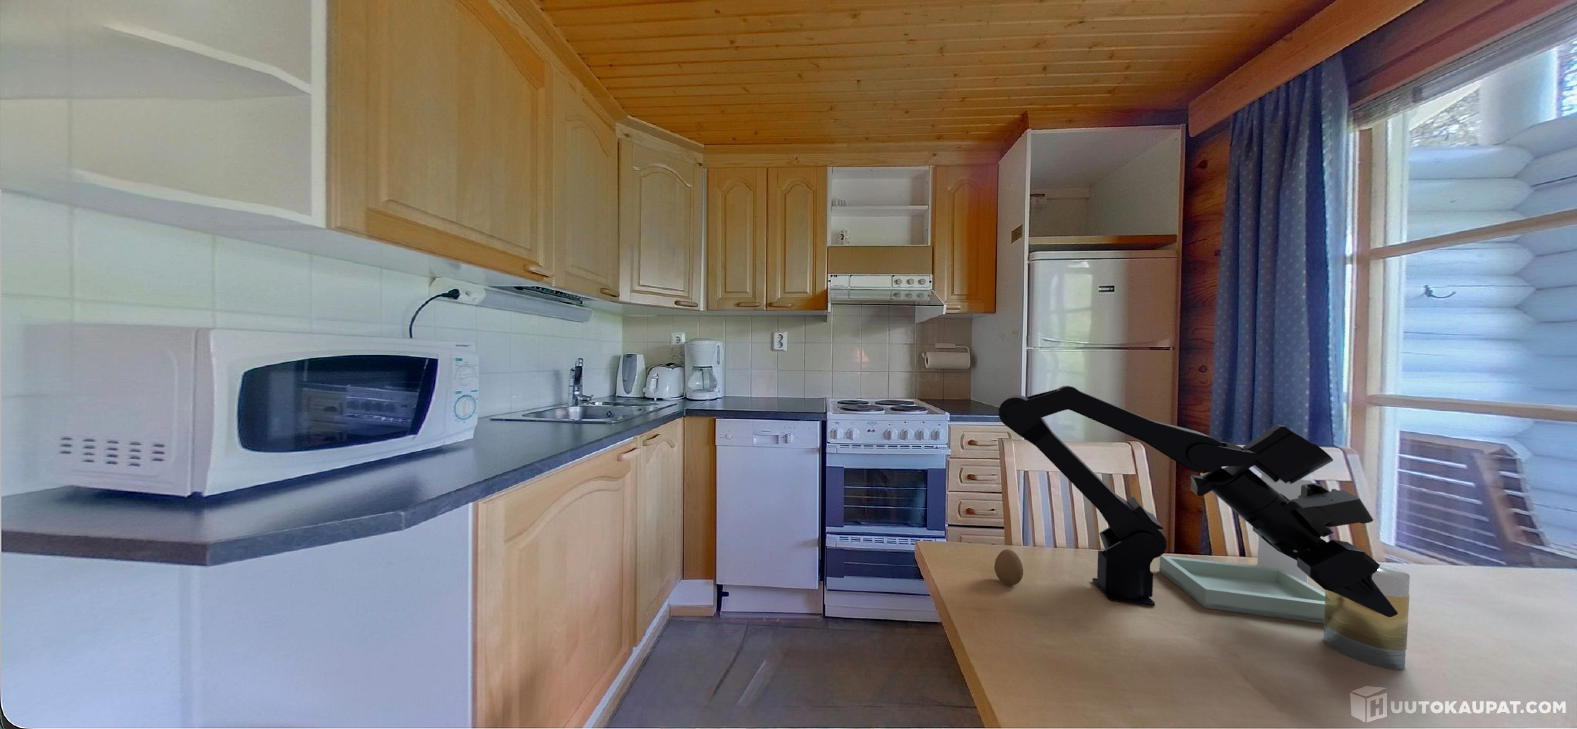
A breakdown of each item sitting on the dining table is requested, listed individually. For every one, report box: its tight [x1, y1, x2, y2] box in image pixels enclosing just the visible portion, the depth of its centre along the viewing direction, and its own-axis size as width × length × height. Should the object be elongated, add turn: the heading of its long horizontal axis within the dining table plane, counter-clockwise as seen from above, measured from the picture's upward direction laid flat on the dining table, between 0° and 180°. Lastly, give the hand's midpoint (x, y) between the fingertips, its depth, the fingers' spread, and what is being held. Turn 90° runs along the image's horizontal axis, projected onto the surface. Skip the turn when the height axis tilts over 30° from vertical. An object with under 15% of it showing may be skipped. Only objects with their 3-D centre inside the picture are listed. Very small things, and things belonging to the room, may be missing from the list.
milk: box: [1256, 471, 1315, 584], centre depth 79 cm, size 6×6×22 cm
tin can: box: [1323, 560, 1411, 671], centre depth 58 cm, size 7×7×12 cm
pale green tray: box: [1159, 554, 1325, 625], centre depth 71 cm, size 18×12×3 cm, turn 76°
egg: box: [993, 548, 1024, 586], centre depth 74 cm, size 4×4×6 cm
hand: (1369, 597), depth 58 cm, fingers open, 9 cm apart
